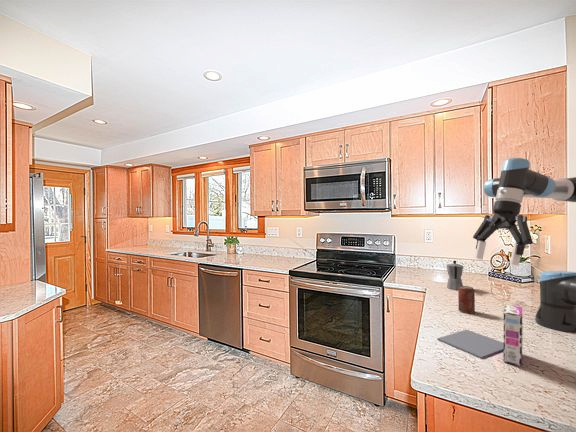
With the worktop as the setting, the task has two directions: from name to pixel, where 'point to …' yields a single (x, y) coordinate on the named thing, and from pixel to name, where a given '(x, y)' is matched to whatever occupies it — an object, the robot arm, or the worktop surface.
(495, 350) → the mat
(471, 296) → the soda can
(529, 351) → the worktop surface
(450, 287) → the coffeepot
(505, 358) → the candy bar box
